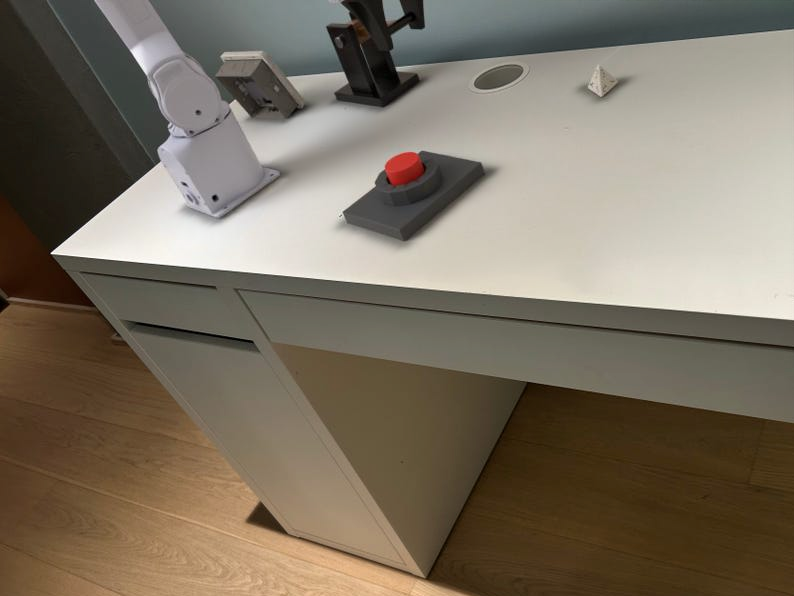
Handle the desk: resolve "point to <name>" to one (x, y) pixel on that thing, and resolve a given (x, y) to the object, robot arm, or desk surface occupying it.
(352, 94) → the bracket
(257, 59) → the electrical switch
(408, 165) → the button
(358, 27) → the lever
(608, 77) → the tetrahedral die
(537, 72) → the desk surface
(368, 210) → the button box
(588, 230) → the desk surface
